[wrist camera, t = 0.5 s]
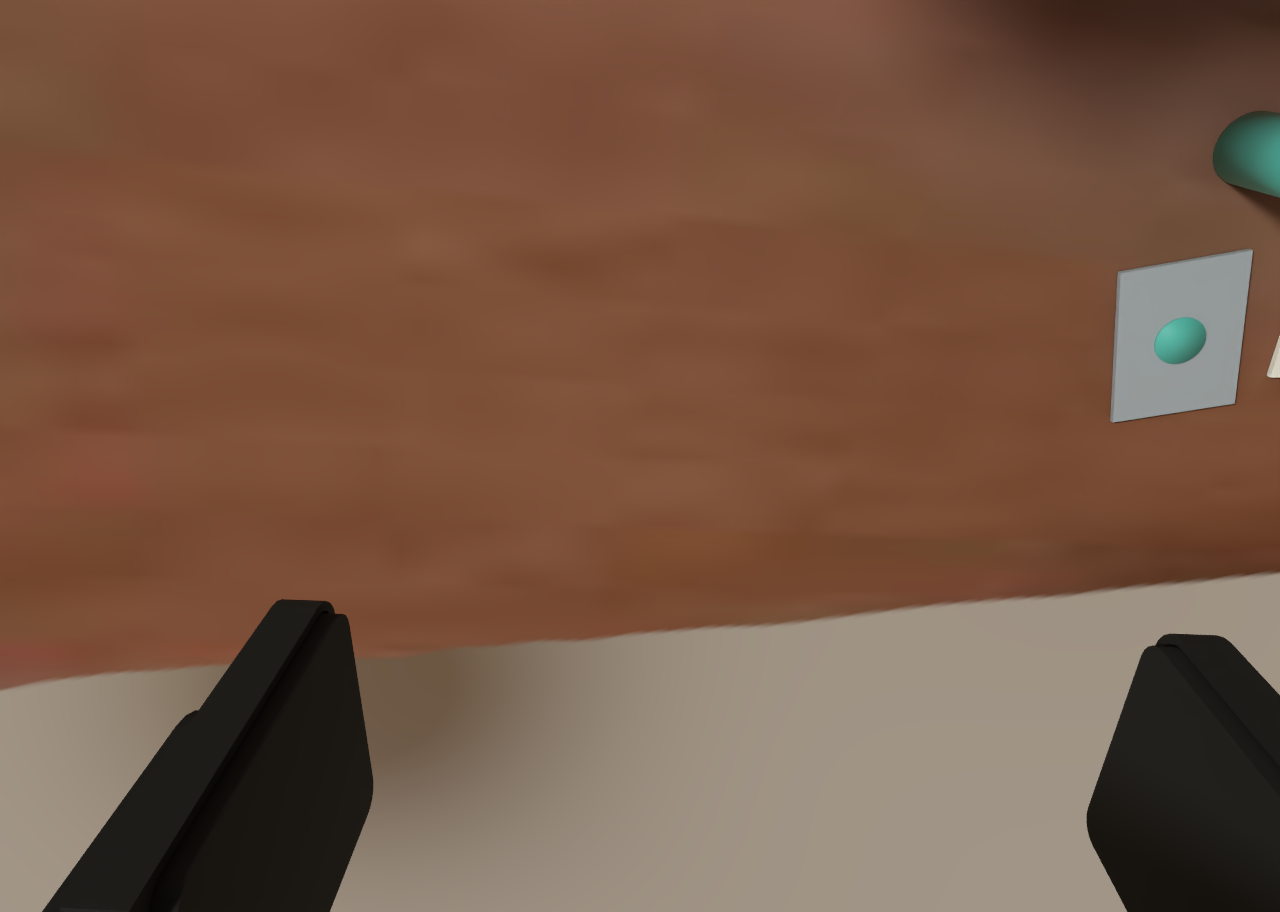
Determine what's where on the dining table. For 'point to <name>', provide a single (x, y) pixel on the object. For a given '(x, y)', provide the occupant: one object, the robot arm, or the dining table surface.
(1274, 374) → the paper
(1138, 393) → the card
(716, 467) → the dining table surface
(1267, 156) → the marker
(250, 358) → the dining table surface
